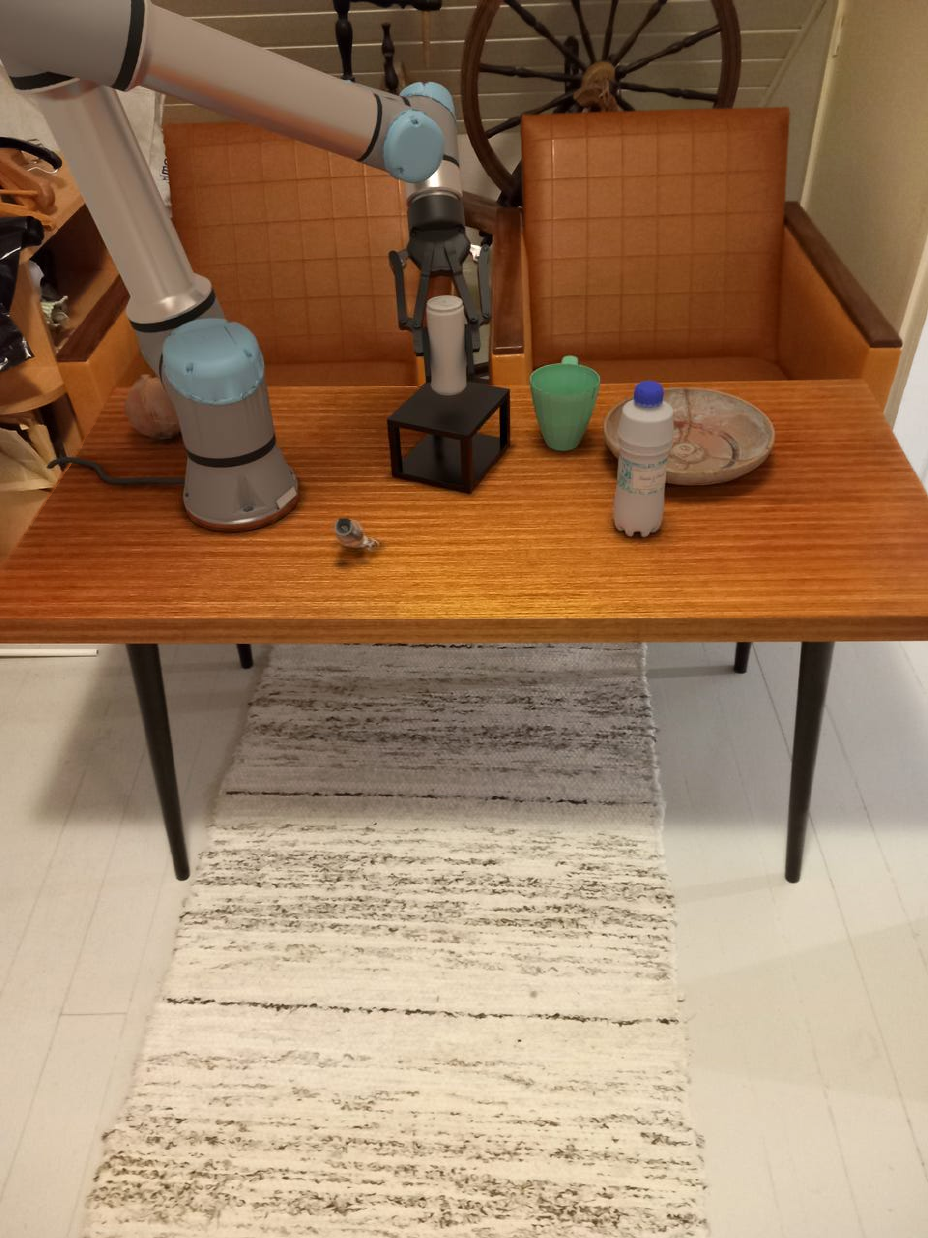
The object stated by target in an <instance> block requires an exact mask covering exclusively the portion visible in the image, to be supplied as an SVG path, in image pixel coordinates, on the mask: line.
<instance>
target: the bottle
mask: <svg viewBox="0 0 928 1238" xmlns="http://www.w3.org/2000/svg"><path fill="white" fill-rule="evenodd" d="M663 388H664V386H663V385H662V384H661V383H660V382H657V381H654V380H643V381H640V382H639V383H637V384H636V385H635V387H634V391H633V395H634V400H631V401H629V402H627V403H626V404H625V405H624V407H623V409H622V414H621V418H620V423H619V427H618V430H617V434H618V439H617V443H618V446H619V448H620V449H619V460H618V459H617V460H618V462H617V473H616V474H617V476H616V487H615V492H614V498H613V507H612V517H613V523H614V526H615V528H616V529H617V530H618V531H619V532H623V531H624V532H625V535H626V536H628V537H633V536H634V533H636V532H639V533H640V536H641V537H642V538H645V537H648V536H649V534H650V533H656V532H657V531H658V530H659V529H660V527H661V525H662V522H663V518H664V511H665V510H664V509H665V489H666V483H665V481H666V472H667V464H668V455H669V450H670V449H671V447H672V445H673V441H672V440H673V438H674V418H673V409H672V407H671V406H670V405H669V404H668V403H666V402H664V401H663V396H664V390H663Z"/></svg>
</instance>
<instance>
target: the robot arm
mask: <svg viewBox="0 0 928 1238" xmlns="http://www.w3.org/2000/svg"><path fill="white" fill-rule="evenodd" d="M0 62H1V64H2V66H3V68H4V70H5V72H6V74H7V76H8V79H9V80H10V83H11V85H12V86H13V88H14V90H15V91H16V93H19V94H20V95H23V96H25V97H27V98H28V99H31V100H32V101H34V102H35V103H36V104H37V107H38V108H39V111H40V112H41V114H42V116H43V119H44V120H45V122H46V124H47V126H48V129H49V131H50V133H51V135H52V137H53V139H54V141H55V143H56V145H57V147H58V149H59V151H60V154H61V155H62V157H63V160H64V162H65V164H66V166H67V168H68V171H69V172H70V174H71V176H72V178H73V180H74V182H75V185H76V187H77V189H78V191H79V193H80V195H81V197H82V199H83V201H84V204H85V205H86V207H87V209H88V211H89V213H90V215H91V217H92V218H91V219H92V220H93V222H94V224H95V226H96V228H97V230H98V232H99V234H100V236H101V238H102V240H103V243H104V245H105V246H106V249H107V251H108V253H109V255H110V257H111V259H112V261H113V263H114V266H115V267H116V270H117V271H118V274H119V276H120V278H121V280H122V282H123V284H124V286H125V288H126V290H127V293H128V295H129V297H130V298H129V299H128V301H127V305H126V307H125V316H126V317H127V319H128V321H129V323H130V326H131V328H132V330H133V332H134V334H135V335H136V338H137V340H138V343H139V345H140V351H141V354H142V355H143V357H144V359H145V361H146V363H147V364H148V366H149V367H150V369H152V371H153V372H154V374H155V375H156V377H158V378H159V380H160V382H161V383H162V385H163V387H164V389H165V390H166V392H167V394H168V395H169V397H170V399H171V401H172V402H173V405H174V407H175V410H176V413H177V417H178V421H179V425H180V429H181V432H180V433H181V437H182V441H183V445H184V449H185V453H186V458H187V460H186V468H185V476H184V478H180V477H179V478H177V477H151V476H150V477H148V476H147V477H143V476H142V477H123V478H121V477H115V476H110V475H107V473H106V472H105V471H104V468H103V467H102V466H101V465H100V464H99V463H97V462H95V461H92V460H89V459H84V458H79V457H75V456H74V457H73V456H63V457H57V458H55V459H52V460H51V461H50V462H49V463H48V464H47V466H46V469H48V470H52V469H54V468H55V467H56V466H58V465H60V464H76V465H81V466H85V467H88V468H93V469H94V470H95V471H96V472H97V474H98V475H99V477H100V478H101V479H102V480H103V481H105V482H107V483H109V484H115V485H136V484H158V485H162V484H163V485H182V486H183V485H184V486H183V494H182V500H183V503H184V508H185V512H186V514H187V517H188V518H189V519H190V520H191V521H192V522H193V523H195V524H196V525H197V526H200V527H202V528H204V529H208V530H211V531H216V532H217V531H218V532H229V533H230V532H244V531H250V530H255V529H259V528H262V527H265V526H268V525H270V524H273V523H274V522H277V521H278V520H280V519H282V518H283V517H285V516H287V514H289V513H290V512H291V511H292V510H293V509H294V508H295V507H296V505H297V503H298V500H299V498H300V489H299V484H298V478H297V476H296V474H295V472H294V471H293V469H292V468H291V467H290V466H289V465H288V462H287V460H286V458H285V455H284V453H283V452H282V449H281V448H280V445H279V444H278V442H277V437H276V432H275V425H274V420H273V413H272V409H271V402H270V397H269V391H268V386H267V379H266V374H265V373H266V372H265V369H266V368H265V361H264V356H263V353H262V350H261V349H260V344H259V342H258V340H257V337H256V336H255V334H254V333H253V332H252V331H251V330H250V329H249V328H247V327H246V326H244V325H243V324H242V323H239V322H237V321H232V322H229V320H228V319H227V318H226V316H225V314H224V310H223V308H222V306H221V304H220V302H219V299H218V296H217V295H216V291H215V290H214V288H213V286H212V285H213V284H212V283H211V281H210V279H208V278H207V277H205V276H203V275H201V274H198V273H196V272H194V270H193V268H192V266H191V263H190V261H189V259H188V255H187V254H186V251H185V248H184V247H183V244H182V242H181V239H180V238H179V235H178V233H177V230H176V228H175V226H174V224H173V221H172V219H171V216H170V214H169V212H168V209H167V207H166V204H165V202H164V200H163V198H162V195H161V193H160V190H159V188H158V185H157V183H156V182H155V179H154V176H153V174H152V172H151V170H150V167H149V165H148V162H147V160H146V158H145V156H144V153H143V150H142V148H141V146H140V143H139V141H138V139H137V136H136V134H135V131H134V129H133V127H132V124H131V122H130V120H129V117H128V115H127V113H126V111H125V108H124V106H123V104H122V102H121V99H120V96H119V94H118V92H117V91H120V92H123V93H128V92H130V91H131V90H132V89H135V88H137V87H140V88H144V89H147V90H150V91H153V92H156V93H158V94H161V95H164V96H166V97H170V98H173V99H176V100H179V101H181V102H184V103H187V104H190V105H194V106H196V107H199V108H202V109H205V110H208V111H210V112H214V113H217V114H219V115H223V116H225V117H228V118H231V119H234V120H236V121H239V122H243V123H246V124H249V125H251V126H254V127H257V128H260V129H263V130H265V131H268V132H272V133H274V134H277V135H280V136H282V137H285V138H289V139H292V140H295V141H297V142H301V143H303V144H307V145H309V146H312V147H315V148H318V149H321V150H324V151H327V152H329V153H332V154H335V155H338V156H341V157H344V158H346V159H349V160H351V161H352V160H353V161H356V162H357V163H359V164H362V165H365V166H368V167H371V168H374V169H376V170H380V171H382V172H385V173H387V174H388V175H390V176H391V177H392V178H394V179H395V180H398V181H402V182H403V183H404V197H405V204H406V207H407V209H406V218H407V230H408V240H407V241H408V242H407V243H406V246H405V248H404V249H401V250H399V251H396V250H390V251H389V252H388V254H387V256H388V264H389V267H390V269H391V272H392V273H393V275H394V287H395V299H396V312H397V323H398V329H399V330H401V331H408V332H410V333H411V334H412V340H413V352H414V355H415V357H416V358H418V357H423V367H424V377H425V379H424V380H425V382H426V383H432V375H431V363H430V351H429V340H428V328H427V326H424V320H425V319H424V318H425V315H426V314H425V313H426V308H427V302H428V297H429V290H430V285H431V279H435V278H438V277H446V278H449V277H450V280H451V283H452V285H453V286H454V287H453V288H454V289H455V292H456V295H457V297H458V298H460V299H461V300H462V301H463V302H462V304H463V306H464V319H465V320H466V323H464V326H465V355H466V374H467V381H473V380H475V373H476V372H475V371H476V370H475V360H474V359H475V358H474V354H475V353H480V351H481V345H482V344H481V333H480V329H481V327H482V326H484V325H490V323H491V321H492V316H493V309H492V299H491V298H492V297H491V290H490V279H489V268H488V263H489V260H490V255H491V247H490V245H489V244H486V243H485V244H482V246H480V245H476V244H472V243H471V240H470V239H469V238H468V237H469V236H467V230H466V229H467V228H466V217H465V209H464V204H463V200H464V196H463V187H462V186H463V185H462V174H461V168H460V167H461V165H460V155H459V154H460V153H459V143H458V142H459V141H458V122H457V117H456V109H455V104H454V100H453V97H452V95H451V93H450V91H449V90H448V89H447V88H446V87H444V85H442V84H440V83H437V82H435V81H434V82H433V81H428V82H426V83H423V82H421V81H419V82H414V83H411V84H409V85H408V86H406V87H404V88H403V89H402V90H401V91H400V93H399V94H398V95H396V94H393V93H391V92H387V91H384V90H380V89H378V88H374V87H371V86H369V85H368V86H367V85H364V84H361V83H357V82H354V81H352V80H350V79H346V80H345V79H341V78H339V77H336V76H333V75H331V74H328V73H325V72H323V71H321V70H318V69H315V68H313V67H311V66H308V65H305V64H304V63H301V62H299V61H296V60H294V59H290V58H288V57H285V56H283V55H281V54H278V53H276V52H273V51H271V50H268V49H266V48H263V47H261V46H258V45H255V44H253V43H251V42H248V41H246V40H243V39H241V38H238V37H235V36H233V35H231V34H228V33H226V32H223V31H221V30H219V29H215V28H213V27H211V26H208V25H206V24H203V23H202V22H198V21H196V20H194V19H191V18H188V17H186V16H183V15H181V14H178V13H176V12H173V11H170V10H168V9H166V8H163V7H161V6H158V5H156V4H154V3H153V2H152V1H151V0H0ZM469 255H470V256H471V257H472V263H473V264H474V265H477V267H476V277H477V286H478V296H479V297H478V298H479V307H480V312H477V310H476V306H475V304H474V301H473V298H472V296H471V293H470V290H469V287H468V284H467V281H466V279H465V276H464V272H463V268H462V266H463V264H464V263H465V261H466V259H467V258H468V256H469ZM408 260H410V261H411V262H412V263H413V265H415V266H416V268H417V269H418V270H419V271H420V272H419V281H418V286H417V293H416V299H415V303H414V304H415V305H414V308H413V309H414V310H413V315H412V317H408V312H407V298H406V288H405V287H406V284H405V273H404V270H405V269H406V268H407V264H408V263H407V262H408Z"/></svg>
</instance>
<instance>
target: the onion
mask: <svg viewBox="0 0 928 1238" xmlns="http://www.w3.org/2000/svg"><path fill="white" fill-rule="evenodd" d="M124 412H125V415H126V418H127V421H128V422H129V424H130V425H131V426H132V427H133V428H134V430H135V431H137V432H138V433H140V434H142V435H144V436H146V437H149V438H150V439H154V440H160V441H164V440H172V439H173V437H175V436H178V435H179V434H180V433H181V429H180V425H179V421H178V417H177V413H176V410H175V407H174V405H173V402H172V401H171V399H170V397H169V395H168V394H167V392H166V390H165V389H164V387H163V385H162V383H161V382H160V380H159V378H158V377H157V376H155V375H154V374H148V373H143V374H141V375H140V378H137V379H136V380H134V383H133V384H132V386H131V388H129V390H128V393H127V395H126V397H125V400H124Z"/></svg>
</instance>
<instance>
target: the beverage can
mask: <svg viewBox="0 0 928 1238" xmlns="http://www.w3.org/2000/svg"><path fill="white" fill-rule="evenodd" d="M462 302H463V301H462V300H461V299H460V298H458V296H455V295H449V294H447V295H437V296H434V297H431V298H430V299H427V302H426V308H425V313H426V314H425V315H426V327H427V328H428V340H429V351H430V363H431V375H432V383H431V387H432V389H433V390H434V391H435V392H436V393H438V394H441V395H446V396H447V395H456V394H459V393H461V392H462V391H463V390H464V389H465V387H466V381H467V362H466V351H465V326H464V324H465V315H464V306H463V304H462Z"/></svg>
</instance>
